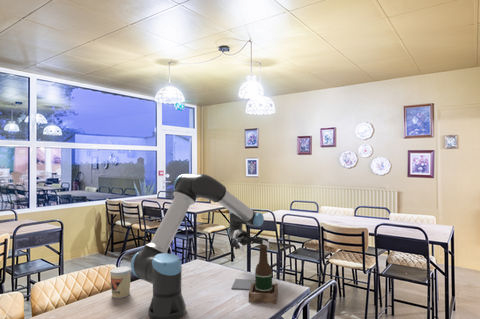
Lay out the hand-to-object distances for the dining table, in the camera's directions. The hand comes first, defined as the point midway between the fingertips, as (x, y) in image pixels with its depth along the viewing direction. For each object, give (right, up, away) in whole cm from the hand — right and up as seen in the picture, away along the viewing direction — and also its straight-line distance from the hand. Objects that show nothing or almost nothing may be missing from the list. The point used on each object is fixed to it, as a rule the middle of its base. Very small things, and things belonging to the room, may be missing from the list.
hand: (255, 247), depth 155 cm
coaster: (-5, -21, +5) cm, 22 cm away
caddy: (+3, -20, -9) cm, 23 cm away
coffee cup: (-64, -21, -5) cm, 68 cm away
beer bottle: (+3, -21, -9) cm, 23 cm away
